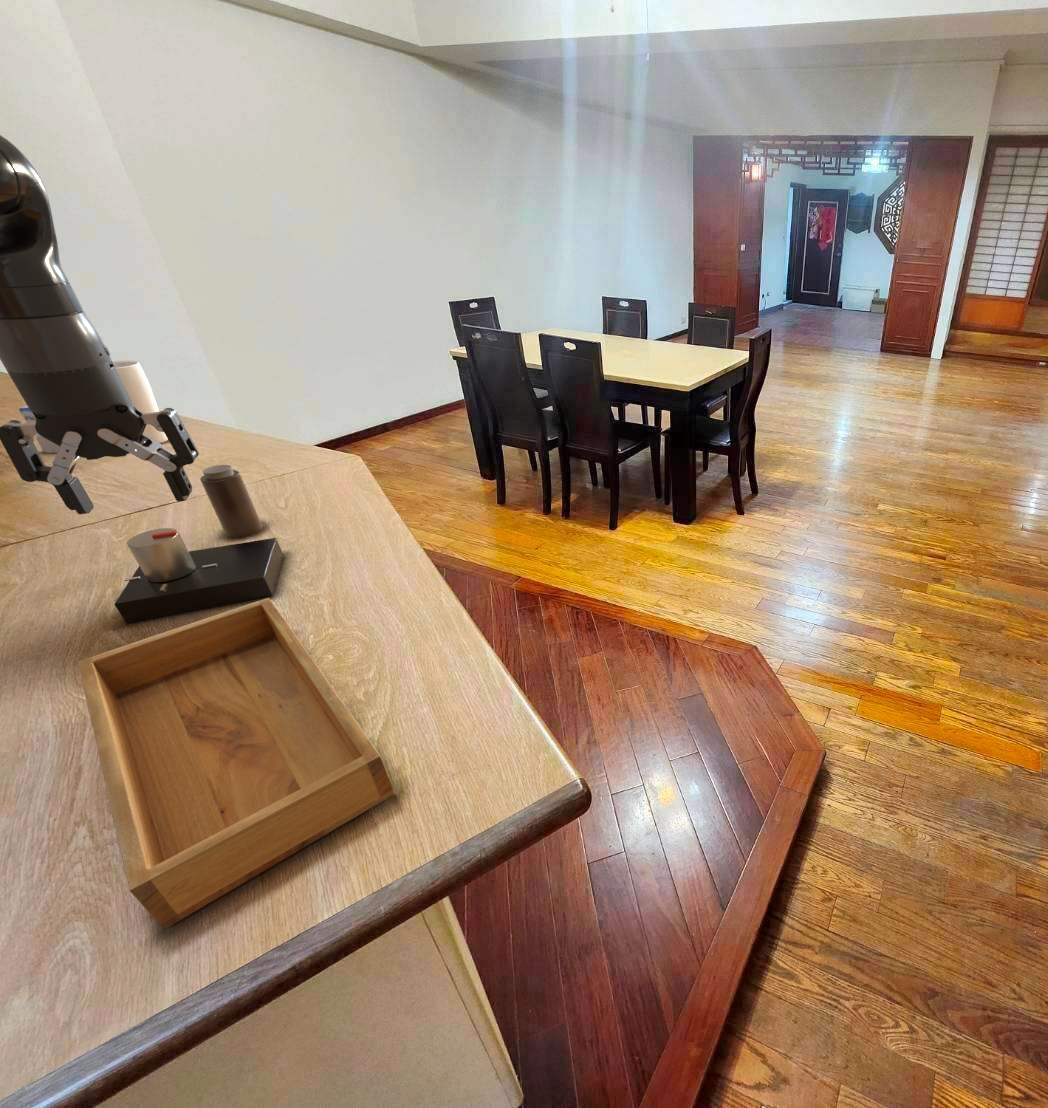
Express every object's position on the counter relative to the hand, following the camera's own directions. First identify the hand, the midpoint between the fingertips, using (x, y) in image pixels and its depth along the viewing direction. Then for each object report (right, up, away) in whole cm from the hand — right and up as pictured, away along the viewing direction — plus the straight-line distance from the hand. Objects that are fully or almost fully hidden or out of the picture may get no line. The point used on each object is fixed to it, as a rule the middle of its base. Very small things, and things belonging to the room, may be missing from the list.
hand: (136, 504), depth 68 cm
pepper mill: (-4, -2, +20) cm, 21 cm away
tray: (+24, -24, -14) cm, 36 cm away
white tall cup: (-47, +16, +49) cm, 70 cm away
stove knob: (0, -8, +5) cm, 9 cm away
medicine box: (-58, +15, +45) cm, 75 cm away
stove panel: (+2, -10, +7) cm, 13 cm away
